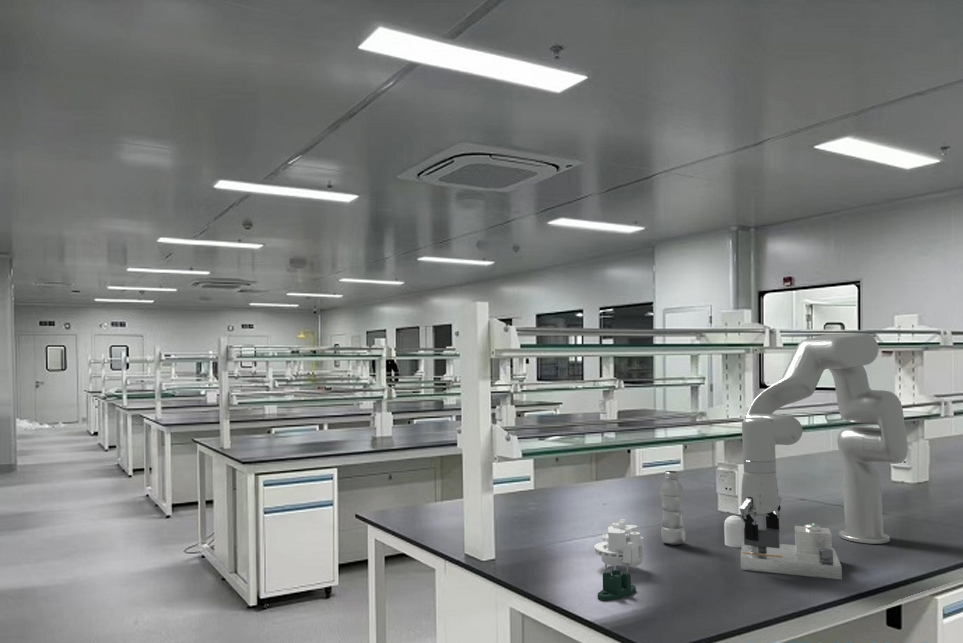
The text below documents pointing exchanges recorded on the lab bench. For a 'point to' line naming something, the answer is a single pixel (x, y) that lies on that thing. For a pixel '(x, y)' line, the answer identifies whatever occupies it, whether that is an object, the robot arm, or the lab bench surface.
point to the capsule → (734, 531)
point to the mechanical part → (621, 546)
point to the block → (765, 539)
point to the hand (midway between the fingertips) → (762, 536)
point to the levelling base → (797, 555)
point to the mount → (616, 586)
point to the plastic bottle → (672, 509)
